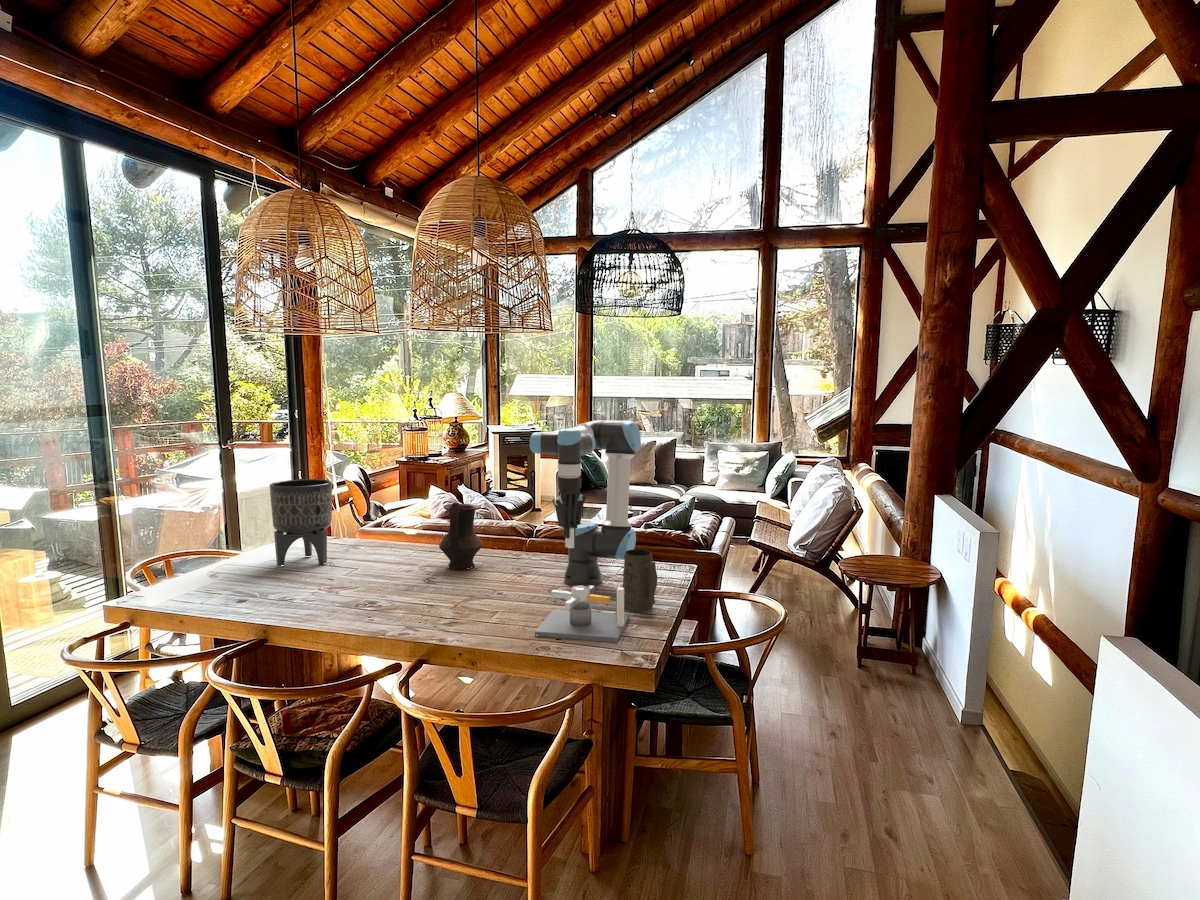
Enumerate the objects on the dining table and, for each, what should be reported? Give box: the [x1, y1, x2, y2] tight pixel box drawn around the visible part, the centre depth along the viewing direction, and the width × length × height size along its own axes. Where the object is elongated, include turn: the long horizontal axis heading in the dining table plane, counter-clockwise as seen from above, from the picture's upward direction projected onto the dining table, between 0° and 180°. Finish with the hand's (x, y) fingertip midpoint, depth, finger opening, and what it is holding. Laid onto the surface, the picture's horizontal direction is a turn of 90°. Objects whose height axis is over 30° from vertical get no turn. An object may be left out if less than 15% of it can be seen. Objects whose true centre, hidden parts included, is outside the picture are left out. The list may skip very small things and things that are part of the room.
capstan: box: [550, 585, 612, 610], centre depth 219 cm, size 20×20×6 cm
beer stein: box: [622, 548, 658, 612], centre depth 238 cm, size 15×11×20 cm
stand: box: [534, 586, 630, 643], centre depth 219 cm, size 22×26×14 cm
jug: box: [438, 501, 484, 570], centre depth 290 cm, size 21×18×30 cm
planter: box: [269, 478, 333, 567], centre depth 298 cm, size 25×25×36 cm
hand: (569, 547), depth 224 cm, fingers closed
